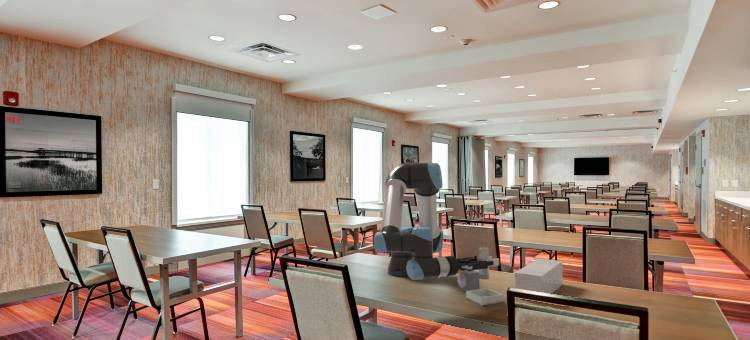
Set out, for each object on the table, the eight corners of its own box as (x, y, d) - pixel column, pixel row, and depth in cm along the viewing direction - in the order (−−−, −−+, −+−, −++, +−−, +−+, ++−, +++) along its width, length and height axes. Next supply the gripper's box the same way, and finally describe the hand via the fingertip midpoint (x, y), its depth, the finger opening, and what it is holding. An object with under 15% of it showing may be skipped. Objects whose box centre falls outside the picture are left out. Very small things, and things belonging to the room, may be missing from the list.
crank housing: (454, 289, 192) (454, 269, 192) (470, 286, 195) (469, 267, 195) (463, 293, 185) (463, 272, 185) (479, 291, 188) (479, 270, 188)
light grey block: (538, 281, 203) (538, 258, 203) (562, 284, 197) (562, 261, 197) (515, 298, 178) (514, 272, 177) (542, 303, 171) (541, 276, 171)
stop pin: (476, 277, 176) (476, 247, 176) (485, 276, 178) (484, 247, 178) (482, 279, 172) (482, 249, 172) (491, 278, 174) (490, 248, 174)
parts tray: (466, 298, 178) (465, 291, 178) (486, 295, 182) (486, 288, 182) (481, 305, 169) (481, 298, 168) (503, 302, 172) (503, 294, 172)
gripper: (434, 271, 176) (482, 265, 185) (457, 281, 160) (508, 274, 169) (434, 252, 176) (482, 248, 185) (457, 260, 160) (508, 255, 169)
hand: (494, 260), depth 177 cm, fingers closed on stop pin, 4 cm apart
